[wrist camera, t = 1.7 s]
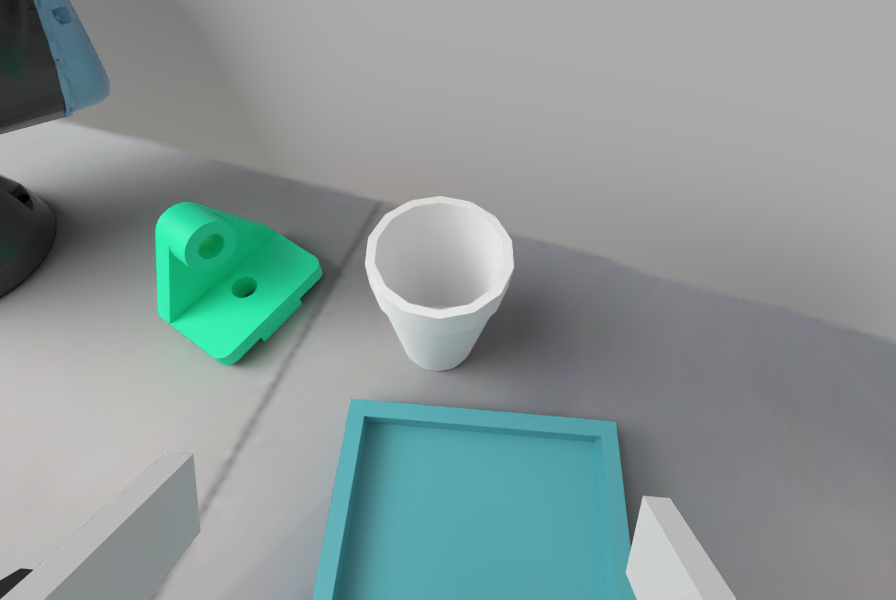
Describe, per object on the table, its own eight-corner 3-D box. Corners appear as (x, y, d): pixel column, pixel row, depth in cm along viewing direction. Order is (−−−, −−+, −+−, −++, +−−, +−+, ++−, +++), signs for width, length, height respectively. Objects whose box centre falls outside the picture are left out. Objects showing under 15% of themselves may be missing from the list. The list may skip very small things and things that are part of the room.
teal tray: (294, 748, 25) (278, 772, 22) (357, 409, 35) (351, 398, 32) (637, 782, 25) (661, 810, 22) (602, 430, 35) (615, 421, 32)
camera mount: (233, 374, 36) (168, 319, 27) (174, 328, 38) (95, 262, 29) (329, 277, 41) (301, 204, 32) (272, 240, 43) (231, 162, 34)
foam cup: (371, 373, 36) (343, 297, 25) (401, 284, 41) (389, 185, 30) (480, 399, 36) (501, 332, 24) (498, 305, 40) (524, 212, 29)
